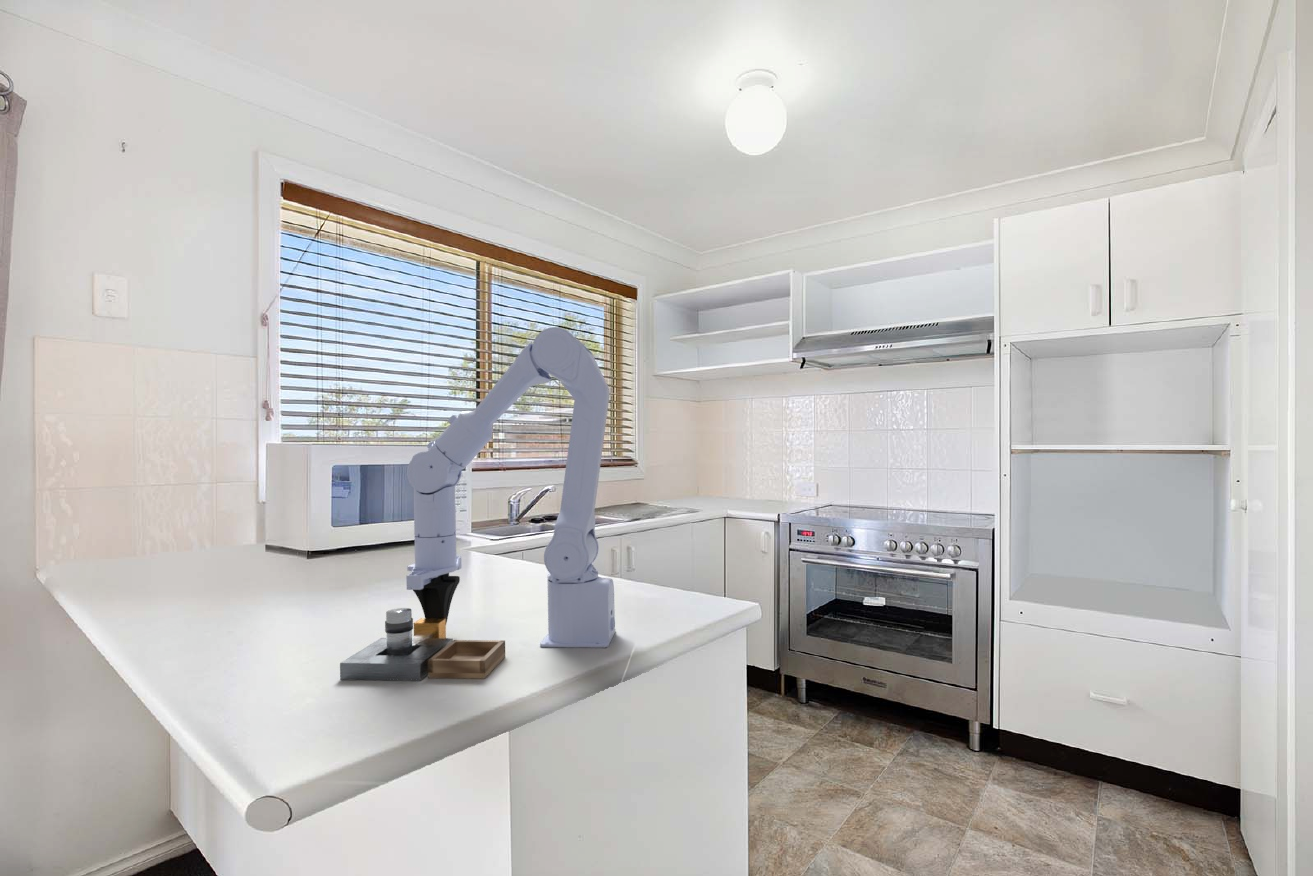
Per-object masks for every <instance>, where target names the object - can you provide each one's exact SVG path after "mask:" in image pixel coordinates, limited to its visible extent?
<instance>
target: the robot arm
mask: <svg viewBox="0 0 1313 876" xmlns="http://www.w3.org/2000/svg"><path fill="white" fill-rule="evenodd" d="M532 342H533V343H532ZM532 342H530V343H528V344H527V345H526V346H524V348H523V349H522V350H521V352H520V353H519V354H518V355H517V357H516V359H515V360H513V362H512V364H511V365H509V368H507V369H506V371H505V372H504V374H503V375H501V377H500V378H499V380H498V381H497V382H496V383H495V384H494V385H493V386H492V388H491V389H490V391H488V393H487V394H486V395H485V397H484V398H483V399H482V400H481V402H480V403H479V404H478V405H476V408H474V410H465V411H464V410H463V411H460V413H459V414H458V415H457V414H452V415H451V416H450V417H449V418H448V419H447V422H448V423H449V425H448V426H447V427H446V429H444V431H442V433H441V434H440V435H439V436H438V437H437V438H436V439H435V440H434V441H431V440H430V442H428V443H427V444H426V448H428V450H427V451H420V452H418V453H416V454H414V455H413V456H412V458H411V460H410V462H409V463H408V465H407V468H406V478H407V481H408V484H409V485H410V486H411V488H413V528H414V529H413V531H414V532H413V533H414V534H413V535H414V563H412V564H409V565H408V566H407V567H406V570H407V572H410V573H409V574H407V575H406V578H405V579H406V590H409V591H413V593H414V594H415V595H416V598H417V599H418V601H419V603H420V606H421V608H422V612H423V616H424V618H428V619H446V624H447V623H448V618H449V613H450V607H451V604H452V601H453V597H454V594H455V591H456V590H457V588H458V585H459V584H460V580H461V579H460V578H461V577H460V576H458V575H450V573H454V572H456V571H459V570H461V569H462V566H463V565H462V556H457V529H456V528H457V524H456V523H457V522H456V521H457V519H456V517H457V515H456V512H457V511H456V510H457V509H456V486H457V485H458V483H459V482H460V480H461V477H462V474H463V473H462V472H463V470H465V469H466V468H467V467H468V465H469V464H470V463H471V462H472V461H473V460H474V459H475V457H476V456H477V455H478V454H479V453H480V452H481V451H482V450H483V449H484V448H485V446H486V445H487V444H488V443H489V442H490V441H491V440H492V439H493V426H494V424H495V423H496V422H497V421H498V420H499V418H501V416H503V415H504V414H505V413H506V411H507V410H508V409H509V408H510V407H512V405H514V403H516V401H517V400H519V398H520V397H522V395H524V394H525V392H526V391H527V390H528V389H529V388H530V387H534V386H537V385H542V384H545V383H549V382H552V380H553V379H552V377H554V378H555V379H557V380H558V381H559V382H560V384H561V385H562V386H563V388H564V389H565V390H567V392H568V393H569V394H570V396H571V397H572V398H573V400H574V403H573V410H572V419H571V426H570V434H569V441H568V447H567V455H566V456H567V457H566V464H565V469H564V480H563V487H562V494H561V501H560V510H559V513H558V515H557V518H556V521H555V523H554V530H553V536H552V537H551V540H550V541H549V543H548V544H547V545H546V547H545V550H544V554H543V563H544V565H545V568H546V570H547V572H548V574H546V575H547V577H546V578H547V627H548V628H547V629H548V633H547V635H546V636H545V637H544V638H543V639H542V640H541V642H540V644H539V647H540V648H596V649H597V648H599V649H600V648H605V649H606V648H608V647H609V645H610V644H611V642H612V640H613V638H614V635H615V633H616V619H615V617H616V615H615V611H616V609H615V586H614V579H613V578H611V577H601V576H599V572H598V571H599V570H597V569H596V567H595V566H594V564H593V563H594V561H595V560H596V559H597V556H598V554H599V542H598V539H597V536H596V514H595V509H596V501H597V494H598V487H599V478H600V472H601V471H600V470H601V462H602V455H603V448H604V441H605V440H604V439H605V432H606V426H607V425H606V424H607V419H608V418H607V417H608V416H607V415H608V410H609V402H610V396H611V395H610V388H609V387H610V386H608V382H607V381H606V379H605V377H604V374H603V373H602V370H601V369H600V366H599V365H598V363H597V360H596V359H595V356H594V354H593V352H592V351H591V350H590V349H588V347H587V346H586V345H585V344H584V343H582V341H580V339H577V338H576V337H575V336H574V335H573V334H572V333H571V332H570V331H568V330H567V329H565V328H562V327H559V326H551V327H547V328H544V329H543V330H541V331H540V332H539V333H538V334H537V335H536V337H535V338H534V340H533V341H532Z"/></svg>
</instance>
